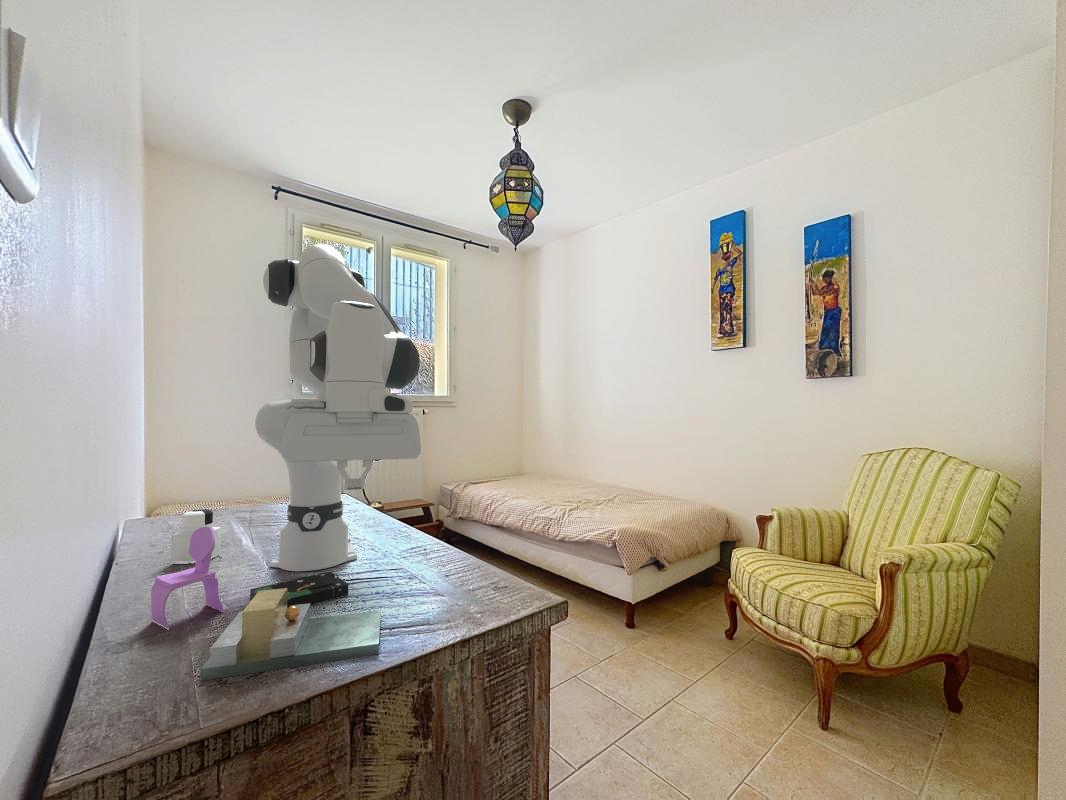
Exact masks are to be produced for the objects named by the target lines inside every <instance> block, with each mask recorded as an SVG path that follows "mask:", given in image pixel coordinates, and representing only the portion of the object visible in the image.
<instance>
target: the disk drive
mask: <svg viewBox="0 0 1066 800" xmlns="http://www.w3.org/2000/svg"><path fill="white" fill-rule="evenodd" d="M282 588H288V597H287V609H288V608H289V607H290V606H291V605H300V604H308V603H310V606H312V605H316V603H317V604H321V603H323V602H328V601H332V600H335V599H339V598H342V597H346V596H348V595H349V583H347V582H346V581H344V580H343V579H341V578H340V577H339V576H335V573H333V572H331V571H328V572H322V573H317V574H313V575H308V576H304V577H300V578H296V579H292V580H291V579H290V580H288V581H287V580H285V581H282V582H278V583H274V584H269V585H264V586H261V587H256V588H251V589H250V590H249V591H250V593H249V603H250V602H251V600H252V599H253V598H254V597H255V595H256V594H257V593H258V591H263V590H273V589H282Z"/></svg>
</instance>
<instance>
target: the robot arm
mask: <svg viewBox="0 0 1066 800" xmlns="http://www.w3.org/2000/svg"><path fill="white" fill-rule="evenodd" d="M262 278H263V279H262V283H263V288H264V291H265V293H266V294H267V298H268V300H270V302H272V303H273V304H274V305H279V306H282V307H288V306H289V307H294V310H293V313H292V315H291V320H290V329H289V368H290V369H289V373H290V374H291V377H292V378H293V379H294V381H295V382H296V383H297V384H299V385H300V386H303V387H304V388H307V389H309V390H310V392H312V394H314V396H315V398H316V399H297V398H296V399H295V398H293V399H292V398H288V399H280V400H273V401H268V402H266V403H265V404H263V406H261V408H260V409H258V412H257V414H256V417H255V421H254V424H255V431H256V433H257V434H258V435H257V436H259V438H260V439H261V441H262V442H264V443H265V444H266V445H268V446H270V447H271V448H273V449H274V450H275V451H276V452H277V453H278V454H279V456H280V457H281V458H282V459H283V461H284V463H285V465H286V468H287V471H288V477H289V479H288V480H289V504H288V505H287V511H286V515H287V523H286V524H285V525H284V526H283V527H282V528H281V529H280V531H279V540H278V553H277V556H276V557H275V558H274V559H272V560H271V561H270V564H269V567H271V568H280V569H282V570H284V571H287V572H288V571H289V572H310V571H317V570H323V569H327V568H332V567H335V566H338V565H341V564H343V563H345V562H350V561H353V560H356V559H357V558H358V554H357V551H356V550H355V548H354V545H353V544H352V542H351V538H350V537H349V525H348V524H347V522H346V521H345V520H344V518H343V517H342V516H343V514H344V513H343V512H344V511H343V510H344V505H343V501H342V499H341V498H342V494H341V493H342V479H344V483H343V485H344V491H354V490H366V489H365V488H366V478H367V476H368V475H369V472H371V471H370V470H371V469H372V468H373V461H375V460H376V461H379V460H381V461H382V460H384V461H385V460H407V459H408V460H410V459H411V460H412V459H417V458H418V457H419V456H420V455H421V453H422V444H421V443H422V441H421V434H420V433H421V432H420V427H419V423H418V420H417V419H416V418H415V416H414V415H413V414H411V413H412V411H413V410H414V402H413V401H412V400H411V399H409V398H406V397H404V396H400V395H398V394H397V393H390V392H387V391H386V388H387V389H392V390H394V389H395V390H402V389H404V388H405V387H407V386H408V385H410V384H411V383H412V382H413V381H414V380H415V379H416V378H417V376H418V374H419V371H420V365H421V364H420V361H421V360H420V359H421V358H420V353H419V350H418V347H416V345H415V343H414V342H413V341H412V340H411V338H410V337H409V336H407V335H406V334H405V333H404V332H403V331H402V330H401V328H400V327H399V326H398V325H399V324H397V323H396V321H395V320H394V318H393V317H392V315H391V314H390V312H389V310H388V309H387V307H386V306H385V305H384V303H383V302H382V301H381V299H380V298H378V297H377V296H376V295H374V294H373V293H372V292H370V291H369V290H368V289H366V284H365V280H364V276H363V275H362V274H361V273H360V271H357V270H355V269H352V268H350V266H349V264H348V262H347V261H346V259H345V258H344V256H343V255H342V254H341V253H340V252H339V251H338V250H337V249H335V248H334V247H333V246H330V245H328V244H322V243H318V244H316V243H315V244H312V245H308V247H306V248H305V249H303V250H302V252H301V254H300V257H299V259H298V260H291V259H289V258H285V259H275V260H272V261H271V262H269V263H268V264H267V268H266V269H265V270H264V273H263V276H262ZM349 461H362V468H365V469H364V471H363V472H362V474H361V475H360V477H359V476H355V477H351V476H350V475H349V473H348V471H347V470H346V468H347V467H348V466H349ZM334 462H336V463H334Z"/></svg>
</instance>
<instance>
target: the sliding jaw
mask: <svg viewBox="0 0 1066 800" xmlns="http://www.w3.org/2000/svg"><path fill="white" fill-rule="evenodd" d="M310 619H311V605H310V603H308V604H300V605H291V606H290V607H289V608H288V609H287V610H286V612H285V616H284V617H283V619H282V621H281V623H280V624H279V626H278V628H277V630H276V632H275V633H274V635H273V637H272V639H271V640H270V658H277V657H284V656H291V655H295V653H296V650H297V648H298V646H299V643H300V641H301V639H302V636H303V634H304V632H305V629H306V627H307V625H308V622H309V620H310Z"/></svg>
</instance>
